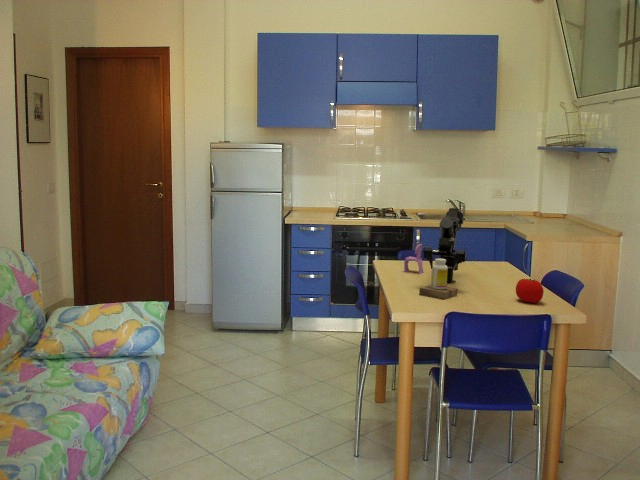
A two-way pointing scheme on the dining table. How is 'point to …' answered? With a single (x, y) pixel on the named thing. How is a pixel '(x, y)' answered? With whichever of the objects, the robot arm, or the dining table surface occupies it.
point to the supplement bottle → (439, 274)
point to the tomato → (529, 290)
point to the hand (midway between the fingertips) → (441, 269)
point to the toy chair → (417, 259)
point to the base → (438, 292)
